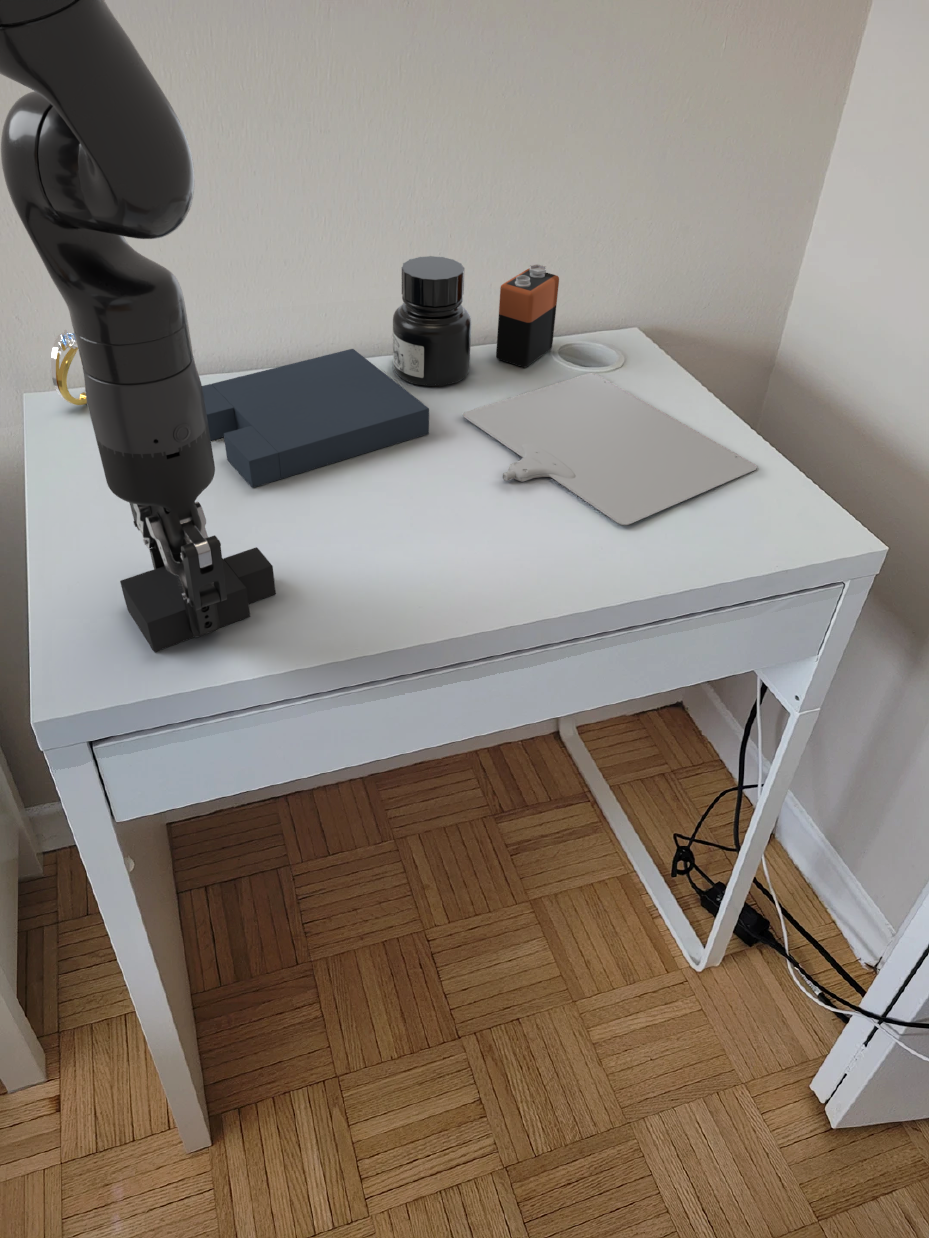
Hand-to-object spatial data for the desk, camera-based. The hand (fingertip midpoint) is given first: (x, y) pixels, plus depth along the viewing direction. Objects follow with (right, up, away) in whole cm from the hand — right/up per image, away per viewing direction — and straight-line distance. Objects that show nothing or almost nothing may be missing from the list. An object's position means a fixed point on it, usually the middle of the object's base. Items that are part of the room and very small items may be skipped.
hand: (188, 605), depth 76 cm
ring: (-18, +22, +25) cm, 38 cm away
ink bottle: (+18, +28, +34) cm, 48 cm away
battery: (+29, +31, +38) cm, 57 cm away
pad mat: (+6, +19, +24) cm, 31 cm away
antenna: (+35, +17, +22) cm, 45 cm away
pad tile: (+1, 0, +1) cm, 2 cm away
